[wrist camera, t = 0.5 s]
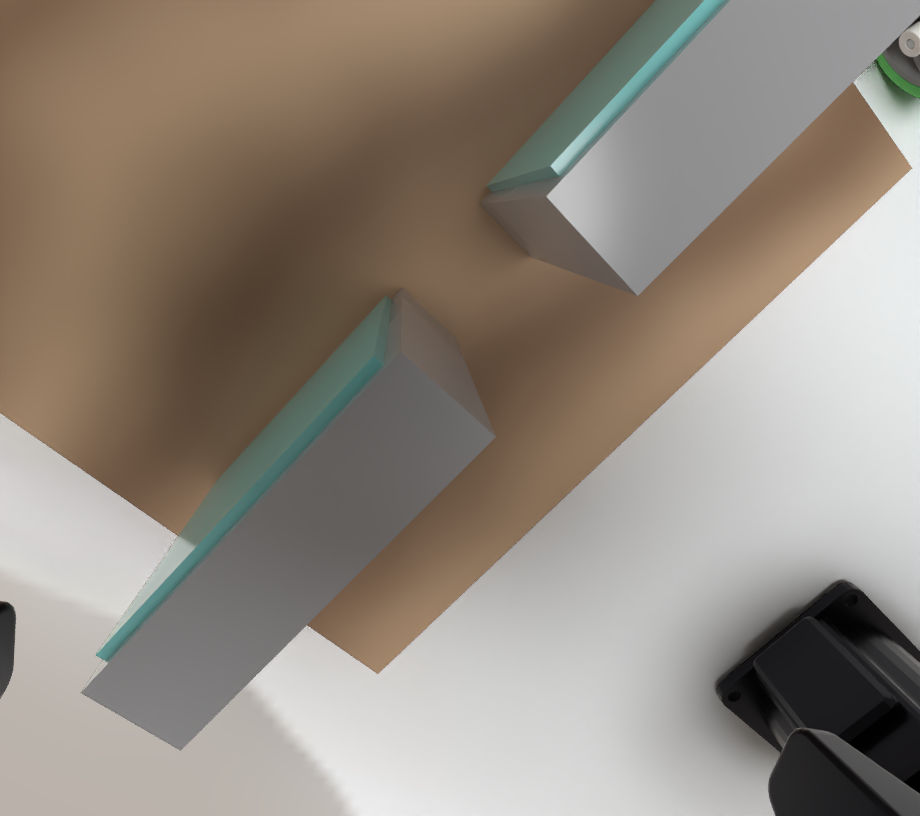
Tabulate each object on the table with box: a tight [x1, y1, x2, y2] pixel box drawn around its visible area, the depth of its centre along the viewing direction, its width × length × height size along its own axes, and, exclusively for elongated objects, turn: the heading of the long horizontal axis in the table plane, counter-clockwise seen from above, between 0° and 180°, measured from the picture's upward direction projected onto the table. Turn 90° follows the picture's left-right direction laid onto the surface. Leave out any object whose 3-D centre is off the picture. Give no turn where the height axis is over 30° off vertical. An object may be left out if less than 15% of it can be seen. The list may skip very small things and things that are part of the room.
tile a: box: [81, 288, 496, 750], centre depth 14 cm, size 2×8×8 cm, turn 136°
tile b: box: [479, 0, 920, 296], centre depth 12 cm, size 2×8×8 cm, turn 136°
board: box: [0, 0, 912, 674], centre depth 16 cm, size 20×22×1 cm
